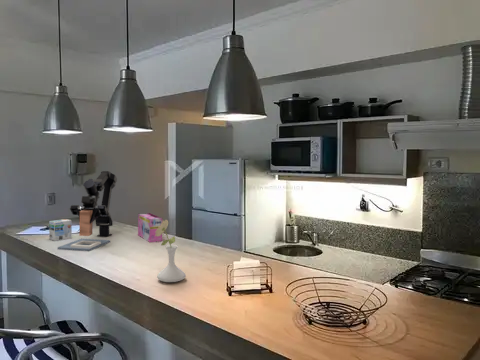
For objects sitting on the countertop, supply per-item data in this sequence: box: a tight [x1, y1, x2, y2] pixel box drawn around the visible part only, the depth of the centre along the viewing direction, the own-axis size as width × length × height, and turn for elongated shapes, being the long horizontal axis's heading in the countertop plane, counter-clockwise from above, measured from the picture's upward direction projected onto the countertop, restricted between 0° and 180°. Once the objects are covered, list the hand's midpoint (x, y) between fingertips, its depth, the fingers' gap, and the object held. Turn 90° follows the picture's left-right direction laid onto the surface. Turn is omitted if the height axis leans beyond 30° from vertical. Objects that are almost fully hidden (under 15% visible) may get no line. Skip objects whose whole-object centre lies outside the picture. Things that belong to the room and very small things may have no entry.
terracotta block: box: [78, 210, 94, 237], centre depth 213 cm, size 5×5×13 cm
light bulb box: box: [48, 218, 73, 241], centre depth 234 cm, size 11×7×11 cm, turn 143°
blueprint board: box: [57, 238, 111, 252], centre depth 218 cm, size 22×18×2 cm
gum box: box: [137, 212, 163, 243], centre depth 240 cm, size 24×8×14 cm, turn 31°
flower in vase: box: [155, 219, 187, 283], centre depth 159 cm, size 13×11×25 cm
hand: (85, 222), depth 212 cm, fingers closed on terracotta block, 5 cm apart
